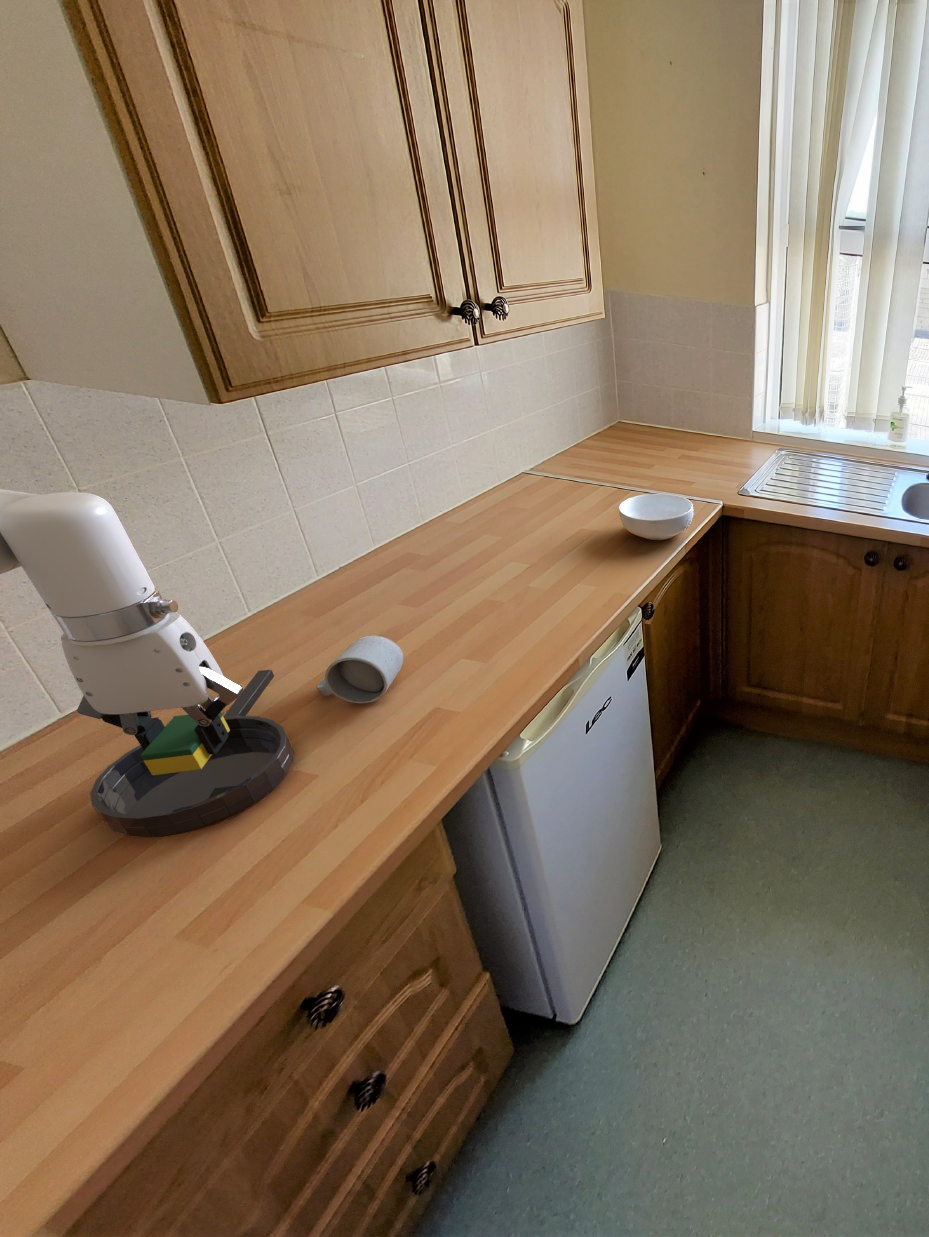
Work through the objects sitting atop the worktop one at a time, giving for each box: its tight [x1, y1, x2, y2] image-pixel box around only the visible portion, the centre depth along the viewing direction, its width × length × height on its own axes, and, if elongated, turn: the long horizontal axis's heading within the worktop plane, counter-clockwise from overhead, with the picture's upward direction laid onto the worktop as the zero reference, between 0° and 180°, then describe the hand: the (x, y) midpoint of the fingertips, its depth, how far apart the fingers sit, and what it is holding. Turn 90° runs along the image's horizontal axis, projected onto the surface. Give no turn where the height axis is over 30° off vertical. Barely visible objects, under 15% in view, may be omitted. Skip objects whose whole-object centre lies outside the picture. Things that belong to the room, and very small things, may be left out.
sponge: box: [140, 711, 230, 775], centre depth 75 cm, size 4×7×3 cm, turn 17°
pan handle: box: [222, 669, 275, 717], centre depth 88 cm, size 2×11×1 cm, turn 17°
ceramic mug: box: [316, 634, 404, 705], centre depth 93 cm, size 11×8×8 cm
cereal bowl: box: [618, 493, 694, 541], centre depth 150 cm, size 17×17×7 cm
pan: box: [89, 715, 295, 838], centre depth 77 cm, size 17×17×4 cm
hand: (190, 748), depth 75 cm, fingers closed on sponge, 4 cm apart
